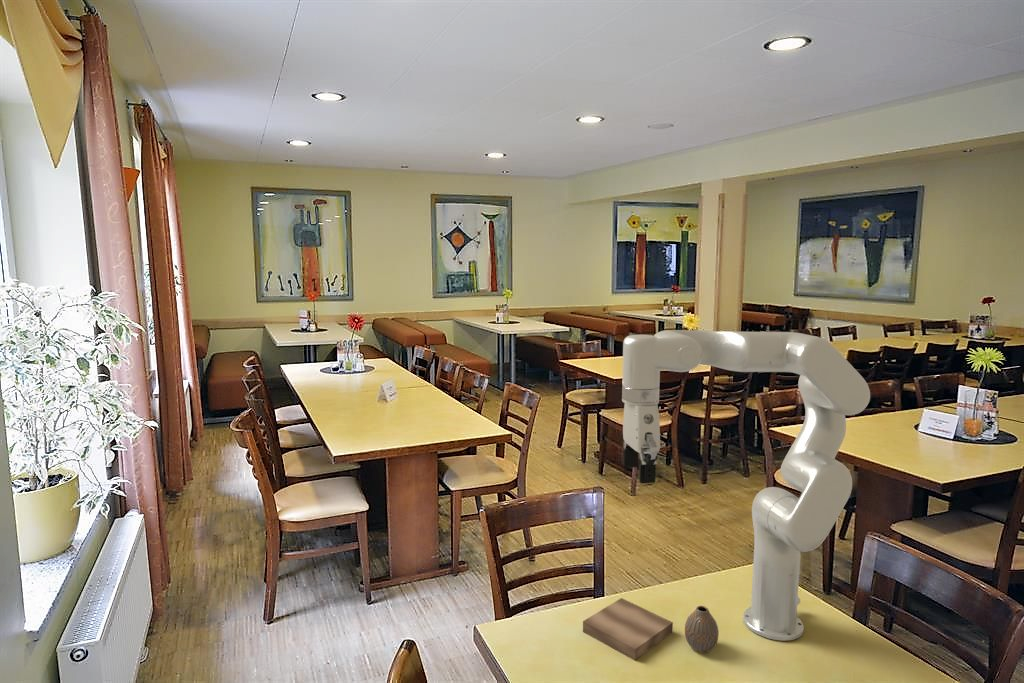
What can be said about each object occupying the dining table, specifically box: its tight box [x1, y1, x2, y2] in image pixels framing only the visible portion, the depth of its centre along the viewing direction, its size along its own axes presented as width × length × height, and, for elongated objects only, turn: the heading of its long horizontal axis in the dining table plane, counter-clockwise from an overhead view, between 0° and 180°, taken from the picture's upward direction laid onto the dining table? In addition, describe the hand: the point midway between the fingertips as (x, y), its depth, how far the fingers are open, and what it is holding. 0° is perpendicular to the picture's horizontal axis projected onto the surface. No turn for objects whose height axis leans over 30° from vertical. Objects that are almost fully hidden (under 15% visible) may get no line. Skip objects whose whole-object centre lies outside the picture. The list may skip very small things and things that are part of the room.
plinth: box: [582, 597, 674, 661], centre depth 141 cm, size 14×14×2 cm
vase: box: [684, 605, 719, 654], centre depth 135 cm, size 7×7×9 cm
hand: (638, 474), depth 133 cm, fingers open, 9 cm apart
